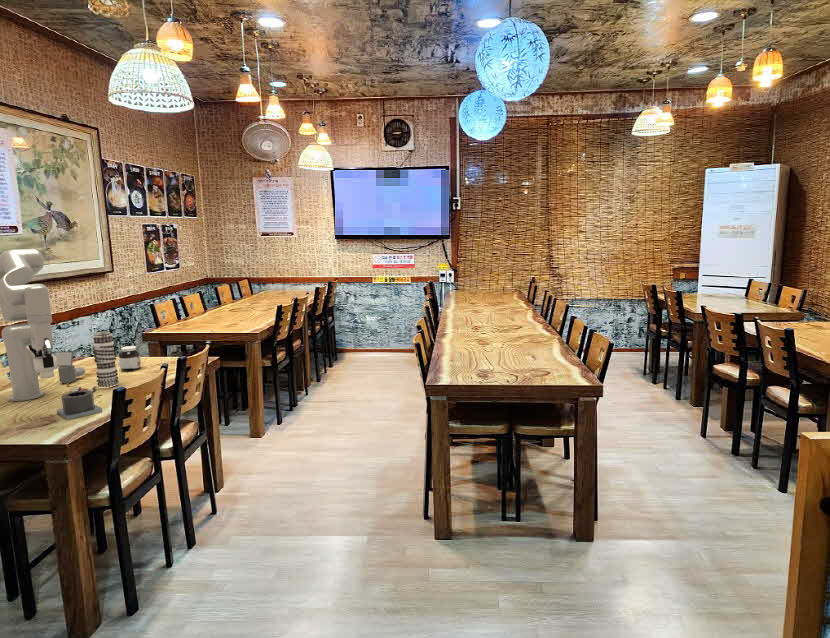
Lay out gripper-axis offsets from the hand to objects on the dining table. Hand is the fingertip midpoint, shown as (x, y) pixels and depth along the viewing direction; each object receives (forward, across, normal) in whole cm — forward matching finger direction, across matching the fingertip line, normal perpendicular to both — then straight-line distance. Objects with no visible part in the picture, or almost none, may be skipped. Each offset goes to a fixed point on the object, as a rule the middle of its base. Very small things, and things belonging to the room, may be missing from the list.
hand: (45, 365), depth 208 cm
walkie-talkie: (+20, -22, +16) cm, 34 cm away
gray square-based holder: (+20, +3, +8) cm, 22 cm away
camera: (+20, -53, +22) cm, 61 cm away
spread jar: (+20, -56, +48) cm, 76 cm away
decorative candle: (+20, -30, +30) cm, 46 cm away
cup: (+4, 0, 0) cm, 4 cm away
